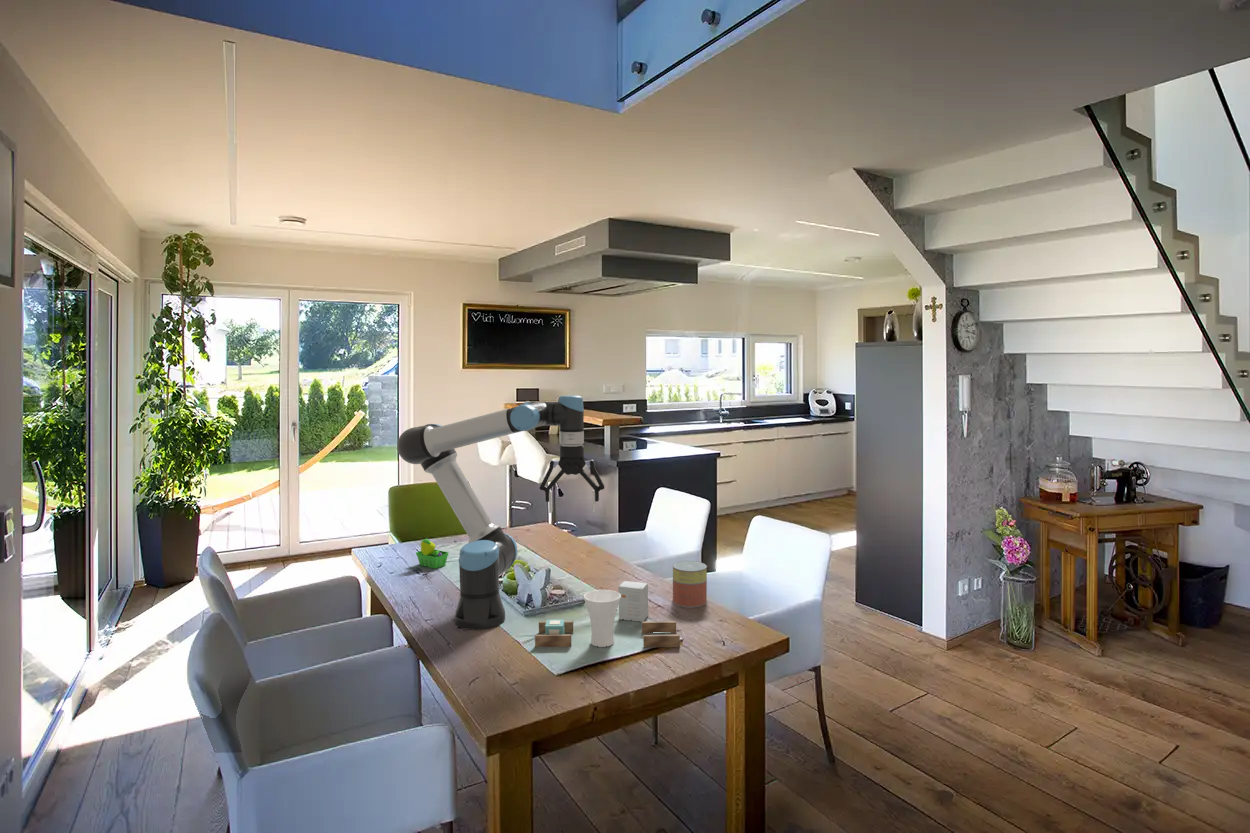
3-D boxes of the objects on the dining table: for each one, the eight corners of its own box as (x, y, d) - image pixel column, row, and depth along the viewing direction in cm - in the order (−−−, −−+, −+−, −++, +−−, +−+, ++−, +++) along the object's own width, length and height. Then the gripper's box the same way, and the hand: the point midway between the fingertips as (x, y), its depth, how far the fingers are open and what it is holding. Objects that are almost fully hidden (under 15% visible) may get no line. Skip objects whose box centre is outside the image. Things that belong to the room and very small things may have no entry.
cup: (607, 653, 183) (607, 604, 182) (576, 645, 189) (575, 597, 188) (628, 640, 192) (628, 593, 191) (597, 632, 198) (597, 587, 197)
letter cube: (545, 643, 190) (545, 625, 190) (547, 636, 195) (546, 619, 195) (563, 643, 190) (562, 625, 190) (564, 636, 195) (564, 618, 195)
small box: (648, 616, 211) (648, 583, 210) (643, 622, 205) (643, 588, 205) (624, 613, 213) (624, 580, 212) (618, 619, 208) (618, 585, 207)
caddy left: (535, 647, 187) (534, 635, 187) (539, 632, 198) (539, 621, 198) (571, 646, 188) (571, 635, 187) (573, 631, 198) (573, 621, 198)
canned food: (713, 601, 224) (713, 565, 223) (692, 610, 216) (693, 573, 215) (686, 593, 232) (686, 558, 231) (665, 601, 223) (665, 566, 223)
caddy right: (643, 647, 187) (643, 636, 187) (641, 632, 198) (641, 621, 197) (679, 647, 187) (679, 635, 187) (676, 632, 198) (676, 621, 198)
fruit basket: (450, 565, 265) (449, 536, 264) (432, 571, 258) (432, 541, 257) (430, 560, 271) (429, 533, 270) (412, 566, 264) (411, 537, 263)
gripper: (530, 446, 208) (531, 514, 209) (611, 446, 208) (612, 514, 210) (533, 443, 215) (534, 509, 217) (611, 443, 216) (611, 509, 218)
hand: (572, 511), depth 214 cm, fingers open, 13 cm apart
